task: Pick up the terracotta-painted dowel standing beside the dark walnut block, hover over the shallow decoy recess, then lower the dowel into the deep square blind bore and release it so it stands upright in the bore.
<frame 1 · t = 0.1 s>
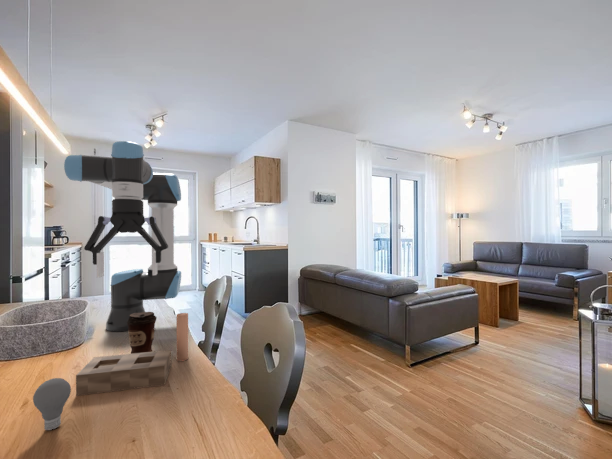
hand: (128, 275, 86), 28 cm above the table, fingers open, 13 cm apart
light bulb: (52, 429, 63), on the table
coffee cup: (141, 354, 101), on the table
bore block: (128, 379, 84), on the table
dowel: (182, 358, 97), on the table
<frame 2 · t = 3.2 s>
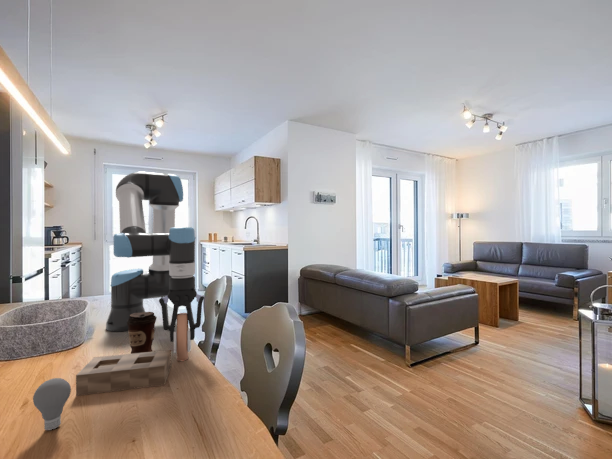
hand: (182, 350, 97), 3 cm above the table, fingers closed on dowel, 3 cm apart
dowel: (182, 358, 97), on the table, touching gripper
everything else where it was.
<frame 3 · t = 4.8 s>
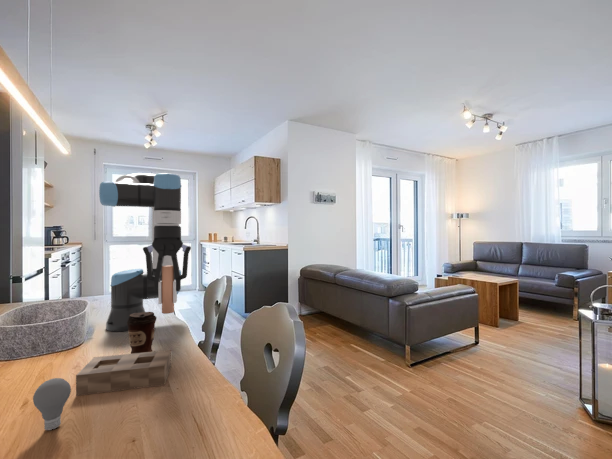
hand: (167, 302, 94), 19 cm above the table, fingers closed on dowel, 3 cm apart
dowel: (168, 312, 94), point 16 cm above the table, touching gripper
everything else where it was.
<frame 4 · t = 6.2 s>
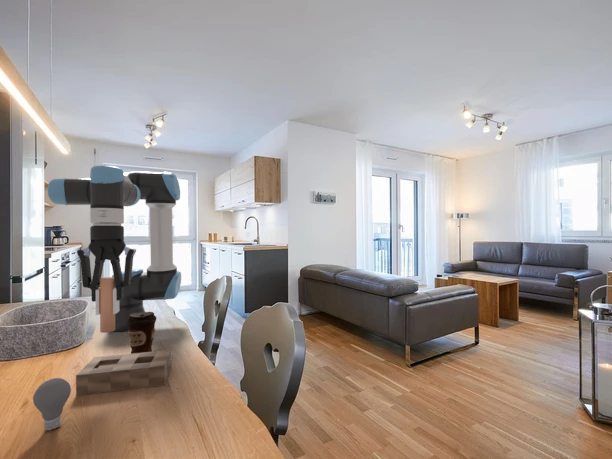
hand: (107, 312, 82), 19 cm above the table, fingers closed on dowel, 3 cm apart
dowel: (107, 330, 82), point 14 cm above the table, touching gripper
everything else where it was.
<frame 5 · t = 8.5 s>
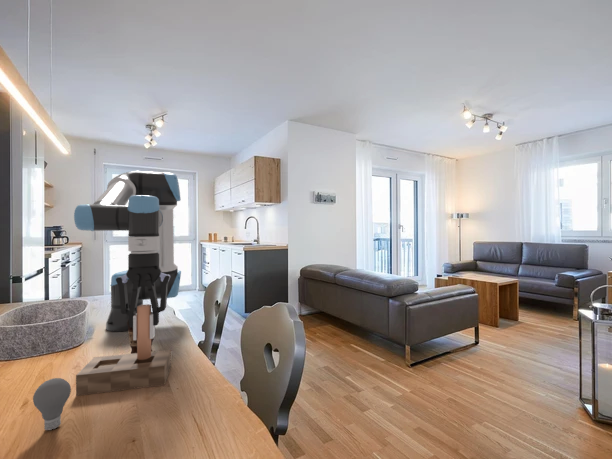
hand: (144, 337, 84), 11 cm above the table, fingers closed on dowel, 3 cm apart
dowel: (144, 357, 84), point 6 cm above the table, touching gripper
everything else where it was.
when the fingers open (6 cm above the table, at t = 9.6 s): dowel stays where it is, resting on bore block.
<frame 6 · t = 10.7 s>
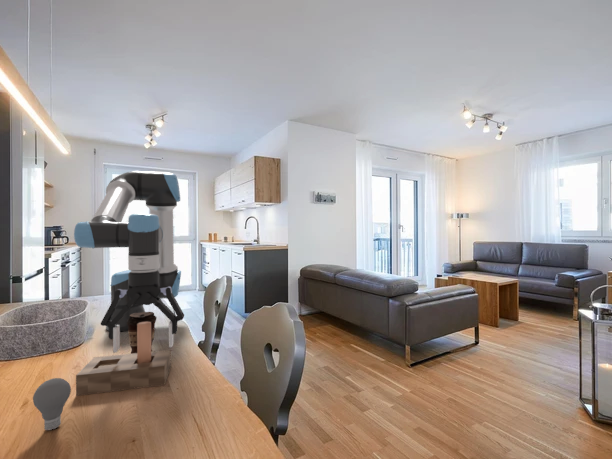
hand: (144, 348, 85), 8 cm above the table, fingers open, 13 cm apart
dowel: (144, 374, 85), point 1 cm above the table, touching bore block
everything else where it was.
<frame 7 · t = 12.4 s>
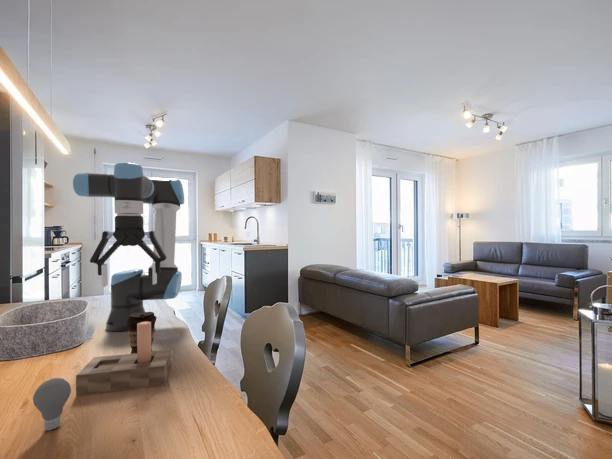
hand: (130, 284, 94), 24 cm above the table, fingers open, 13 cm apart
nothing on the table moved.
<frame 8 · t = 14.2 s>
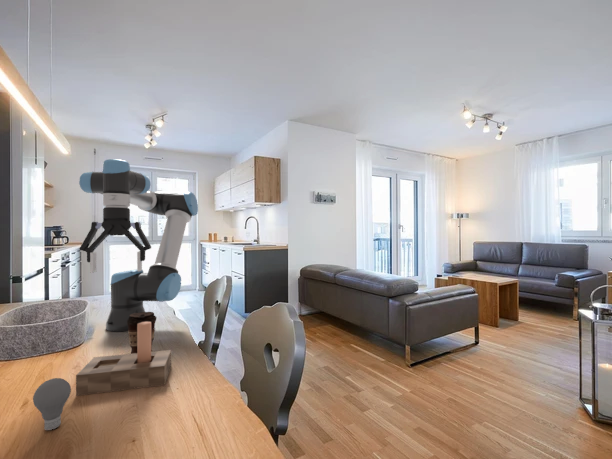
hand: (116, 271, 102), 27 cm above the table, fingers open, 13 cm apart
nothing on the table moved.
at the end: dowel 0.1 cm from the target spot on the bore block, point 1.0 cm above the bore block's base; dowel tilted 0°; the gripper is holding nothing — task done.
